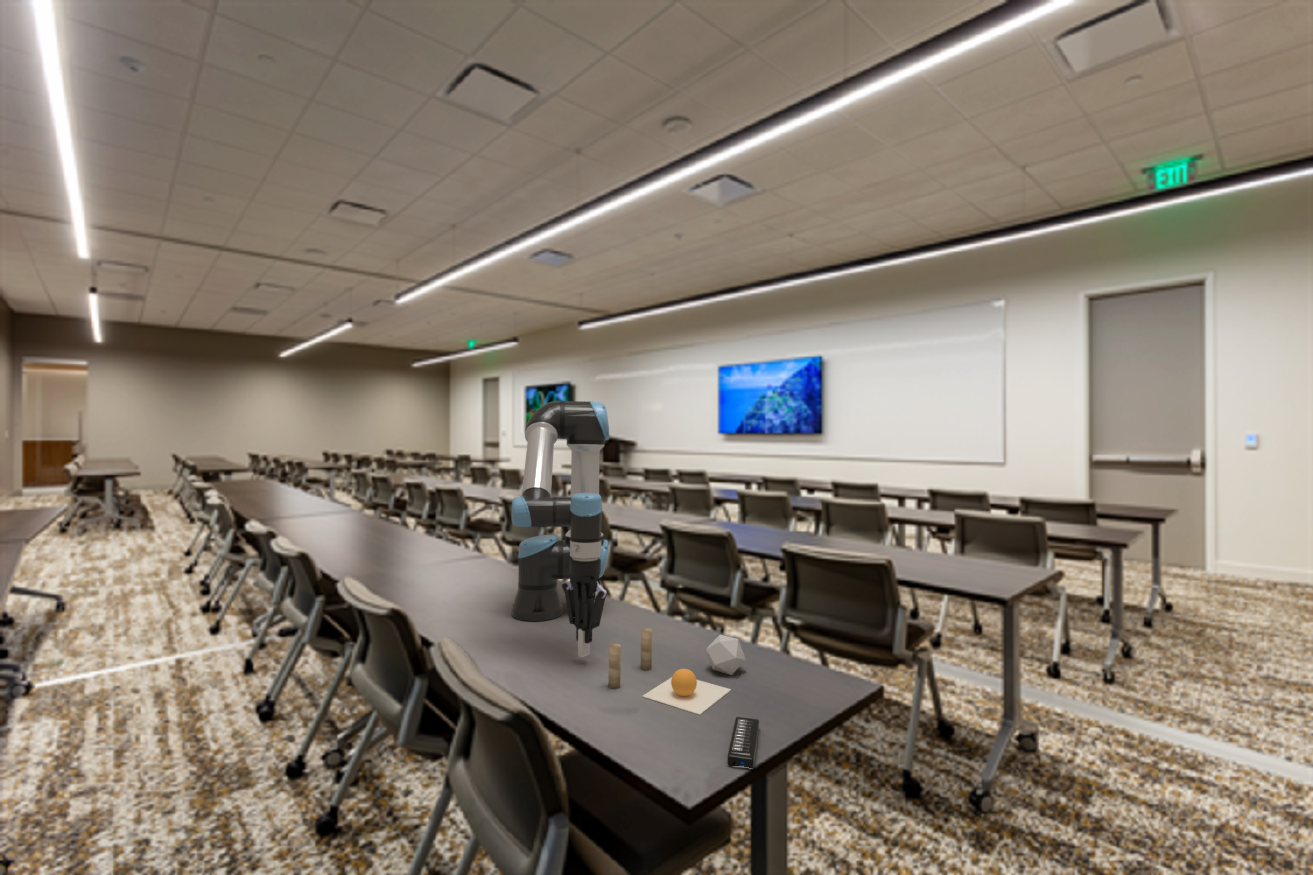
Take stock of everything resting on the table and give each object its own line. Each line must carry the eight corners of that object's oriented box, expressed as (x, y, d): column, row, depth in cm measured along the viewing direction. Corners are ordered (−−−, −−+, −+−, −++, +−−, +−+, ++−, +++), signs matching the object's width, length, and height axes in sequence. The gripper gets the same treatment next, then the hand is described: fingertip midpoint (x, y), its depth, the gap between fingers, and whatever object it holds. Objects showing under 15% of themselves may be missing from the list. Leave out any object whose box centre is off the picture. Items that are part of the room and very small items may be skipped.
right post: (644, 664, 146) (645, 627, 146) (653, 667, 144) (654, 629, 144) (638, 668, 144) (639, 630, 143) (647, 671, 142) (648, 632, 142)
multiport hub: (759, 730, 116) (759, 718, 116) (753, 772, 102) (753, 759, 102) (735, 727, 117) (736, 716, 117) (727, 768, 103) (727, 755, 103)
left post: (613, 682, 135) (613, 642, 135) (622, 685, 134) (623, 645, 134) (606, 686, 133) (606, 646, 133) (615, 689, 132) (616, 648, 132)
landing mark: (676, 674, 140) (676, 674, 140) (731, 690, 132) (731, 689, 132) (642, 696, 128) (642, 695, 128) (699, 715, 121) (699, 714, 121)
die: (751, 672, 144) (738, 633, 149) (745, 666, 137) (732, 625, 142) (718, 683, 145) (707, 643, 150) (711, 677, 138) (699, 635, 143)
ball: (696, 696, 131) (676, 681, 134) (705, 675, 130) (685, 660, 133) (682, 705, 126) (662, 689, 129) (692, 683, 125) (671, 667, 128)
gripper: (554, 556, 146) (553, 653, 147) (596, 564, 139) (595, 666, 140) (575, 551, 153) (573, 644, 153) (616, 558, 146) (614, 656, 146)
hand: (583, 654), depth 146 cm, fingers closed
